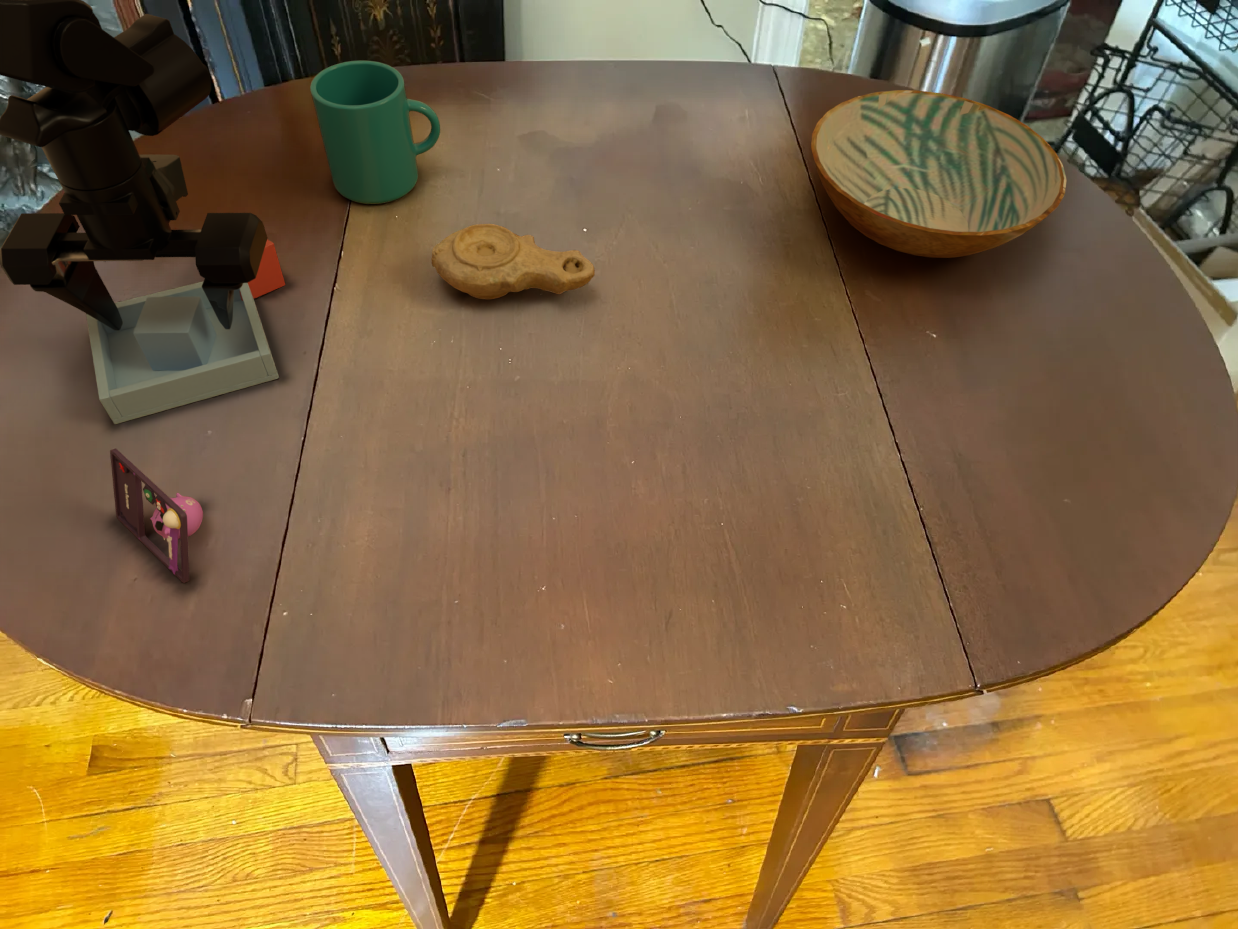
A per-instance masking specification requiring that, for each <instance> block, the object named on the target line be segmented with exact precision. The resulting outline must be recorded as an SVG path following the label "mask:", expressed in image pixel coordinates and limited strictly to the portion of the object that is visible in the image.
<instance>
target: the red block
mask: <svg viewBox="0 0 1238 929" xmlns="http://www.w3.org/2000/svg"><path fill="white" fill-rule="evenodd" d="M275 246H276V245H275V243H274V242H273V241H271V240H269V239H267V242H266V245H265V249H264V252H263V255H262V259H261V262H260V266H259V269H258V272H257V276H256V278H255V279H254V280H252V281H250V282H248V285H249V288H250V290H251V293H252V296H253V299H254V300H255V299H257V298H259V297H261V296H264V295H266V294H268V293H270V292H273V291H275V290H277V289H280V288H282V287H284V286H286V282H285V279H284V276H283V272H282V268H281V264H280V261H279V258H278V254H277V250H276V247H275ZM239 292H240V291H239ZM240 297H241V300H242V301H243V298H242V295H241V292H240Z"/></svg>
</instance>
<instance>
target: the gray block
mask: <svg viewBox="0 0 1238 929" xmlns="http://www.w3.org/2000/svg"><path fill="white" fill-rule="evenodd" d="M133 334H134V336H135V338H136V340H137V342H138V343H139V345H140V347H141V349H142V351H143V353H144V355H145V357H146V359H147V361H148V363H149V364H150V366H151V368H152V370H153V371H161V370H187V369H191V368H195V367H198V366H202V365H206V364H207V363H208V360H209V357H210V353H211V350H212V347H213V344H214V341H215V338H216V332H215V330H214V327H213V325H212V323H211V320H210V318H209V315H208V313H207V311H206V308H205V306H204V304H203V301H202V299H201V297H147V299H146V302H145V304H144V307H143V309H142V312H141V314H140V317H139V319H138V322H137V324H136V327H135V329H134V332H133Z"/></svg>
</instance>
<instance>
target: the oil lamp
mask: <svg viewBox="0 0 1238 929" xmlns="http://www.w3.org/2000/svg"><path fill="white" fill-rule="evenodd" d="M430 260H431V265H432V267H433V268H434V269H435V270H436V272H437V274H438V275H439V276H440V277H441V279H442V280H444V281H445V282H446V283H447V284H448V285H450V286H451V287H452V288H454V289H456V290H458V291H460V292H462V293H466V294H468V295H469V296H471V297H473V298H475V299H478V300H479V299H480V300H494V299H499V298H502V297H504V296H506V295H508V293H518V292H522V291H523V290H529V289H539V290H542V291H547V292H550V293H554V294H556V295H561V294H563V293H564V292H569V291H573V290H578V289H579V288H582V287H584V286H585V285H587V284H589V283H590V282H591V280H592V279H593V278H594V276H595V271H596V270H595V266H594V264H593V263H592V262H591V261H590V260H589V259H588V258H586V257H585V256H584V255H582V253H581V251H580V250H577V249H571V250H566V251H554V250H548V249H545V248H542V247H540V246H538V245H537V244H536V241H535V237H534V235H531V234H525V235H522V236H520V235H518V234H517V233H514V232H512V230H509V229H508V228H506V227H504V226H503V225H499V224H494V223H479V224H472V225H468V226H467V227H464V228H462V229H459V230H457V231H455V232H453V233H451V234H449V235H448V236H446V237H445V238H444V239H442V240H441V241H440V242H439V243H436V244H435V246H433V248H432V250H431V259H430Z"/></svg>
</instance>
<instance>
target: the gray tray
mask: <svg viewBox="0 0 1238 929" xmlns="http://www.w3.org/2000/svg"><path fill="white" fill-rule="evenodd" d="M202 284H203V281H199V282H195V283H191V284H187V285H182V286H179V287H174V288H170V289H166V290H162V291H158V292H153V293H150V294H146V295H141V296H138V297H134V298H129V299H126V300H121V301H118V302H114V303H115V304H116V306H117V308H118V311H119V313H120V316H121V318H122V321H123V324H122V327H121V329H120V330H119V331H115V330H113V329H111V328H110V327H108V326H106V325H105V324H103V323H101V322H100V321H98V320H96V319H95V318H93V317H91V316H90V315H88V314H86V313H85V317H86V324H87V329H88V336H89V343H90V350H91V356H92V362H93V369H94V374H95V381H96V387H97V394H98V399H99V400H98V401H99V402H100V403H101V405H102V407H103V408H104V410H105V411H106V413H107V415H108V417H109V418H110V419H111V422H112V423H113V425H118V424H121V423H124V422H128V421H133V420H136V419H138V418H139V419H140V418H143V417H146V416H150V415H153V414H158V413H160V412H164V411H167V410H171V409H174V408H179V407H182V406H187V405H189V404H193V403H197V402H200V401H203V400H207V399H211V398H214V397H218V396H221V395H225V394H228V393H232V392H235V391H239V390H242V389H245V388H251V387H254V386H256V385H257V386H258V385H260V384H263V383H268V382H271V381H274V380H277V379H278V380H279V379H280V376H279V373H278V370H277V366H276V364H275V361H274V358H273V355H272V351H271V348H270V345H269V342H268V339H267V336H266V333H265V330H264V326H263V324H262V320H261V317H260V314H259V311H258V308H257V305H256V301H255V299H253V296H252V293H251V290H250V288H249V285H248V283H243V285H242V287H241V288H239V289H237V290H234V301H233V320H232V325H231V328H230V329H225V328H224V327H223V326H222V324H221V323H220V322H219V320H218V318H217V316H216V314H215V312H214V310H213V308H212V306H211V304H210V302H209V300H208V298H207V296H206V294H205V292H204V291H203V289H202ZM239 291H240V292H241V295H242V298H243V301H242V300H241V297H240V292H239ZM147 297H201V299H202V301H203V304H204V306H205V308H206V311H207V313H208V315H209V318H210V320H211V323H212V325H213V327H214V330H215V332H216V338H215V341H214V344H213V347H212V350H211V353H210V357H209V360H208V363H207V364H206V365H202V366H198V367H195V368H191V369H187V370H161V371H153V370H152V368H151V366H150V364H149V363H148V361H147V359H146V357H145V355H144V353H143V351H142V349H141V347H140V345H139V343H138V342H137V340H136V338H135V336H134V334H133V332H134V329H135V327H136V324H137V322H138V319H139V317H140V314H141V312H142V309H143V307H144V304H145V302H146V299H147Z"/></svg>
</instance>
